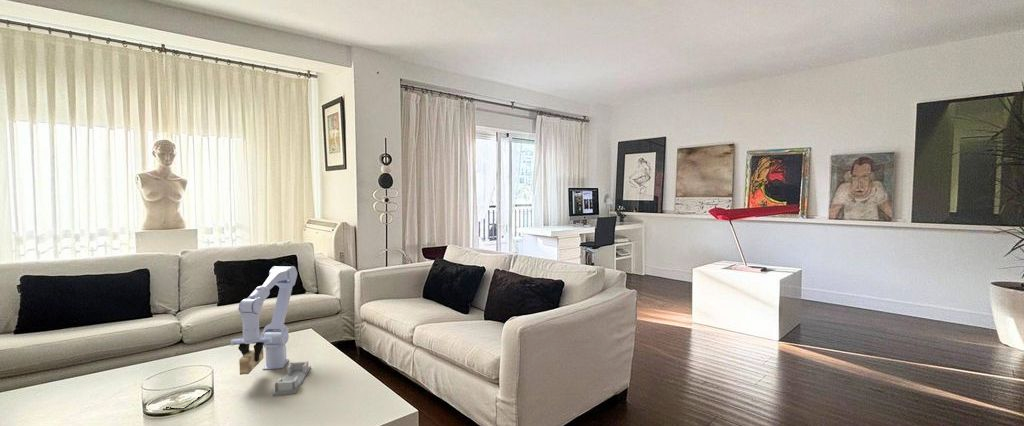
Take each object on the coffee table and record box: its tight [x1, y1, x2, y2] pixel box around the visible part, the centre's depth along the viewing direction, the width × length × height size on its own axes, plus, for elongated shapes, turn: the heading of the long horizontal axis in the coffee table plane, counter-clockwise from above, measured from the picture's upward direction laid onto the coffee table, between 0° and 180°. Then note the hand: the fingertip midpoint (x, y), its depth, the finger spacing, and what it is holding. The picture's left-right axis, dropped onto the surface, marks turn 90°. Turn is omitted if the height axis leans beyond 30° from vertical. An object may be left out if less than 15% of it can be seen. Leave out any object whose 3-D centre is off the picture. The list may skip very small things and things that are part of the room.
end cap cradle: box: [271, 361, 312, 397], centre depth 174 cm, size 24×8×4 cm, turn 12°
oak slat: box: [238, 346, 264, 376], centre depth 173 cm, size 16×3×6 cm, turn 12°
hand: (252, 361), depth 173 cm, fingers closed on oak slat, 3 cm apart
